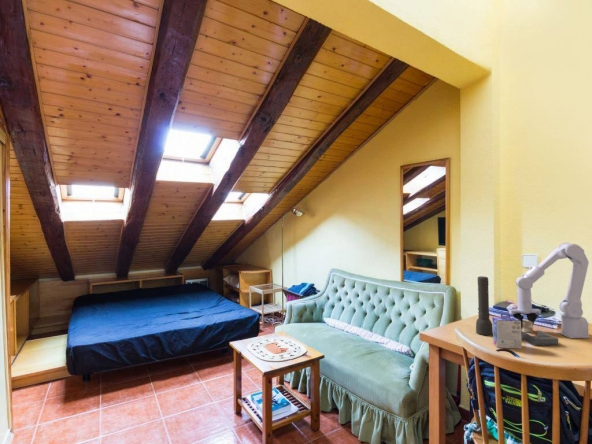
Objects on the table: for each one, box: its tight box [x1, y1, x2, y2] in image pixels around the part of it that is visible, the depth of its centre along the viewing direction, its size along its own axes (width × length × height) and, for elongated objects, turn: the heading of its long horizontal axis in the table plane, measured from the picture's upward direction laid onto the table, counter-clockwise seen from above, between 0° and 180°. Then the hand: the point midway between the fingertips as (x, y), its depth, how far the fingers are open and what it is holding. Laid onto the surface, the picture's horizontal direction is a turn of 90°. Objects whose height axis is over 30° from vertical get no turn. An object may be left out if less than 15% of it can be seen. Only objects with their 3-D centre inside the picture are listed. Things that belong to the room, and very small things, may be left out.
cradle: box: [521, 330, 559, 347], centre depth 145 cm, size 10×10×3 cm
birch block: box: [521, 319, 534, 333], centre depth 159 cm, size 4×4×5 cm
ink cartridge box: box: [491, 312, 523, 350], centre depth 140 cm, size 10×6×14 cm, turn 78°
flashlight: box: [475, 276, 493, 337], centre depth 156 cm, size 7×28×7 cm
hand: (525, 328), depth 159 cm, fingers closed on birch block, 4 cm apart
